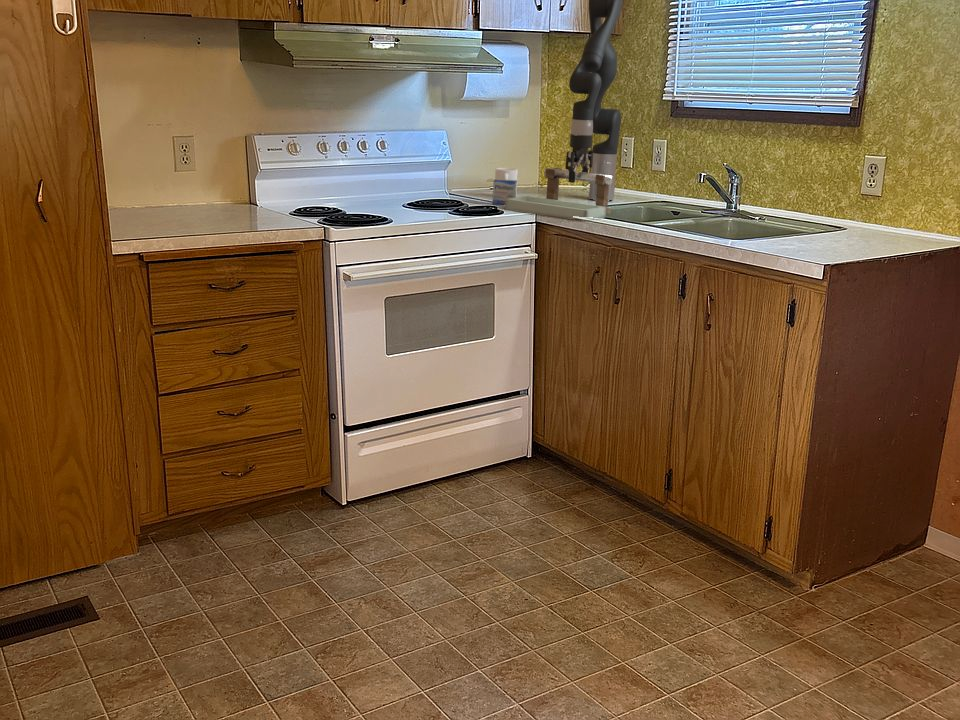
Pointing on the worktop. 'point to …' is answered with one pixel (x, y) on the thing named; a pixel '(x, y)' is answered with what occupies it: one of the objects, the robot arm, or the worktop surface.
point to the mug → (506, 174)
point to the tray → (554, 207)
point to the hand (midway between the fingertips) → (577, 181)
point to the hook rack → (600, 180)
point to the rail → (581, 176)
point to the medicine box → (503, 190)
